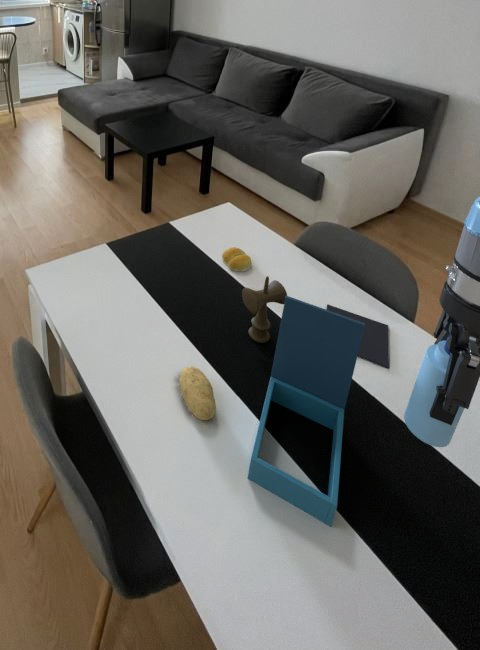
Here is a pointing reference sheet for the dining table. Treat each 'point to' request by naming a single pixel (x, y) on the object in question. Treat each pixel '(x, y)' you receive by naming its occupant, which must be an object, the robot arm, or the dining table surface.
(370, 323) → the mat
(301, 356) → the lid
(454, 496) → the dining table surface
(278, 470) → the blue open box
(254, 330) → the kendama
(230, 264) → the bread roll
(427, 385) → the water bottle
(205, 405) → the potato
